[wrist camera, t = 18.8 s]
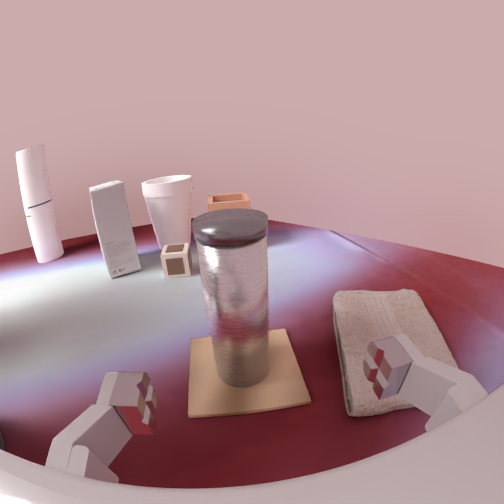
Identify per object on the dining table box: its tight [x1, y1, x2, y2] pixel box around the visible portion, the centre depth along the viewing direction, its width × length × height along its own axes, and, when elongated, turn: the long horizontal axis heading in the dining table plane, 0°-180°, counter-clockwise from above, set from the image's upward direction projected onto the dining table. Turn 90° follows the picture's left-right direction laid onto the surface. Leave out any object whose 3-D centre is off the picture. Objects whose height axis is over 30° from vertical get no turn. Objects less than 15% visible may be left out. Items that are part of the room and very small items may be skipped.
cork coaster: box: [188, 328, 311, 418], centre depth 24 cm, size 10×10×1 cm
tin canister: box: [192, 208, 269, 388], centre depth 22 cm, size 5×5×14 cm
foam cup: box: [142, 175, 193, 250], centre depth 52 cm, size 10×9×13 cm
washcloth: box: [333, 289, 459, 417], centre depth 25 cm, size 12×18×3 cm, turn 174°
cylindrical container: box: [16, 145, 64, 263], centre depth 47 cm, size 7×7×25 cm
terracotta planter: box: [208, 192, 251, 212], centre depth 51 cm, size 7×7×9 cm
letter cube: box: [160, 243, 192, 279], centre depth 43 cm, size 4×4×4 cm
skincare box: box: [89, 180, 142, 278], centre depth 43 cm, size 8×6×15 cm
